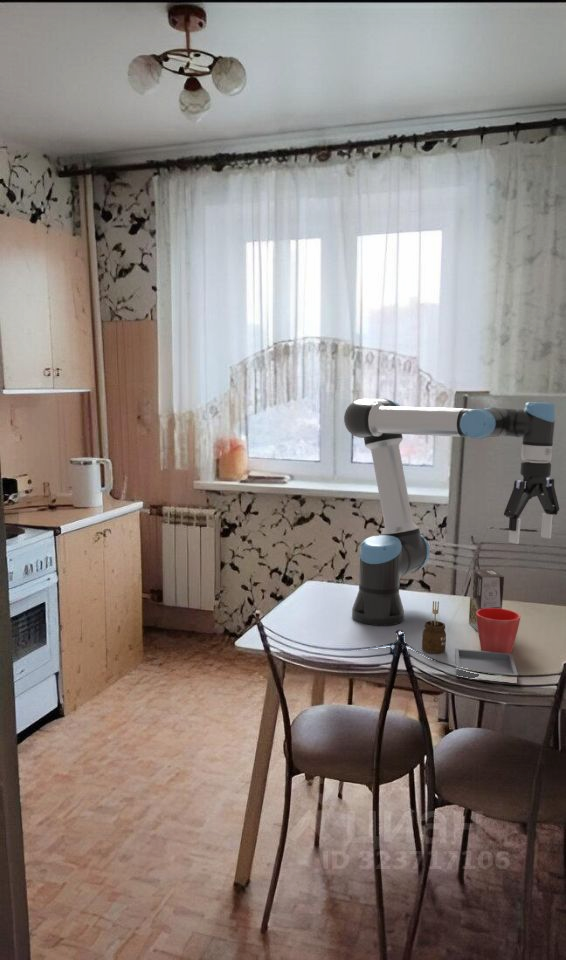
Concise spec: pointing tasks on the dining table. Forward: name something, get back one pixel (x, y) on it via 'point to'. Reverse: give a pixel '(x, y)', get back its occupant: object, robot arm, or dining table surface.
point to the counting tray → (484, 662)
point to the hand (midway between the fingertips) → (530, 540)
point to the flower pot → (497, 629)
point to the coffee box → (484, 592)
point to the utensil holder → (434, 635)
